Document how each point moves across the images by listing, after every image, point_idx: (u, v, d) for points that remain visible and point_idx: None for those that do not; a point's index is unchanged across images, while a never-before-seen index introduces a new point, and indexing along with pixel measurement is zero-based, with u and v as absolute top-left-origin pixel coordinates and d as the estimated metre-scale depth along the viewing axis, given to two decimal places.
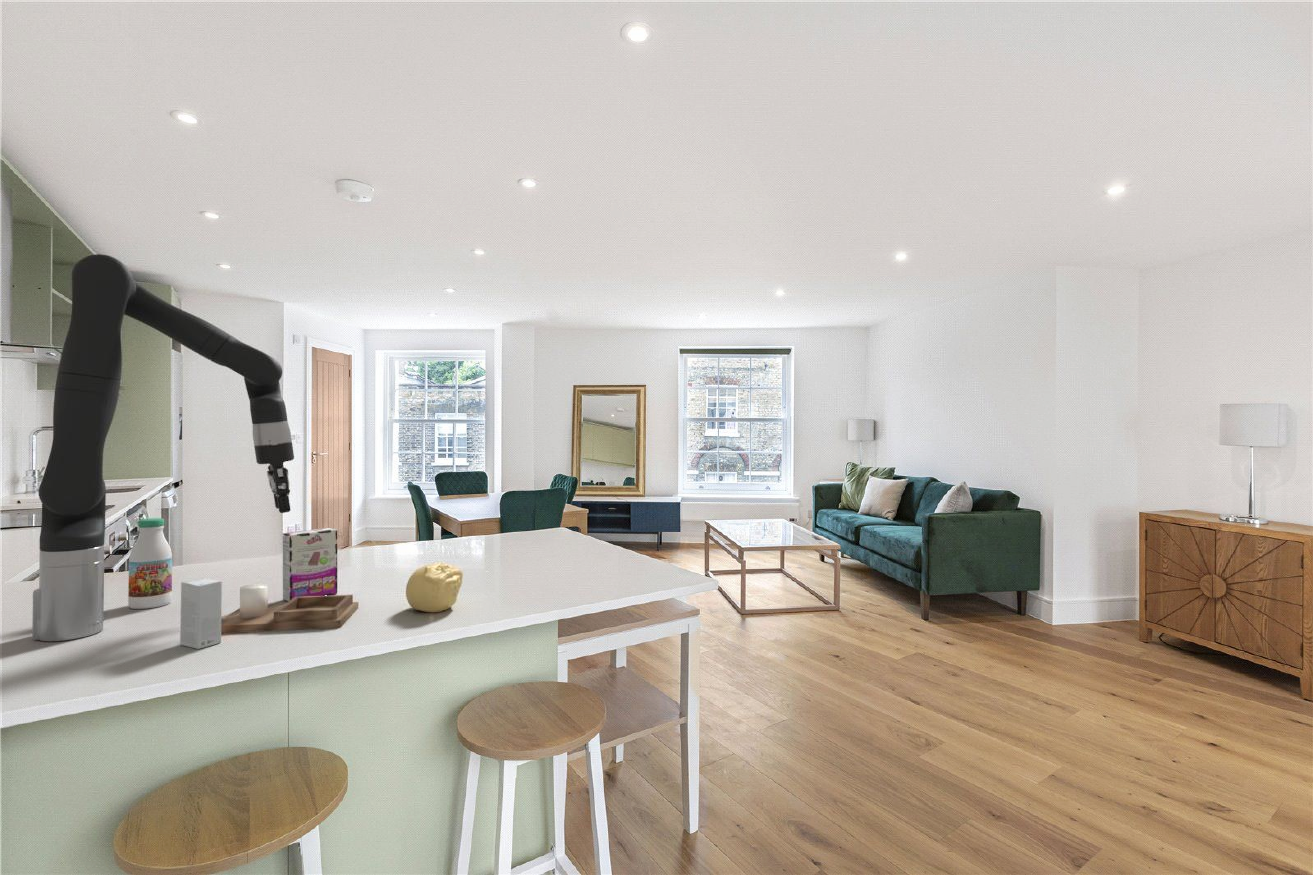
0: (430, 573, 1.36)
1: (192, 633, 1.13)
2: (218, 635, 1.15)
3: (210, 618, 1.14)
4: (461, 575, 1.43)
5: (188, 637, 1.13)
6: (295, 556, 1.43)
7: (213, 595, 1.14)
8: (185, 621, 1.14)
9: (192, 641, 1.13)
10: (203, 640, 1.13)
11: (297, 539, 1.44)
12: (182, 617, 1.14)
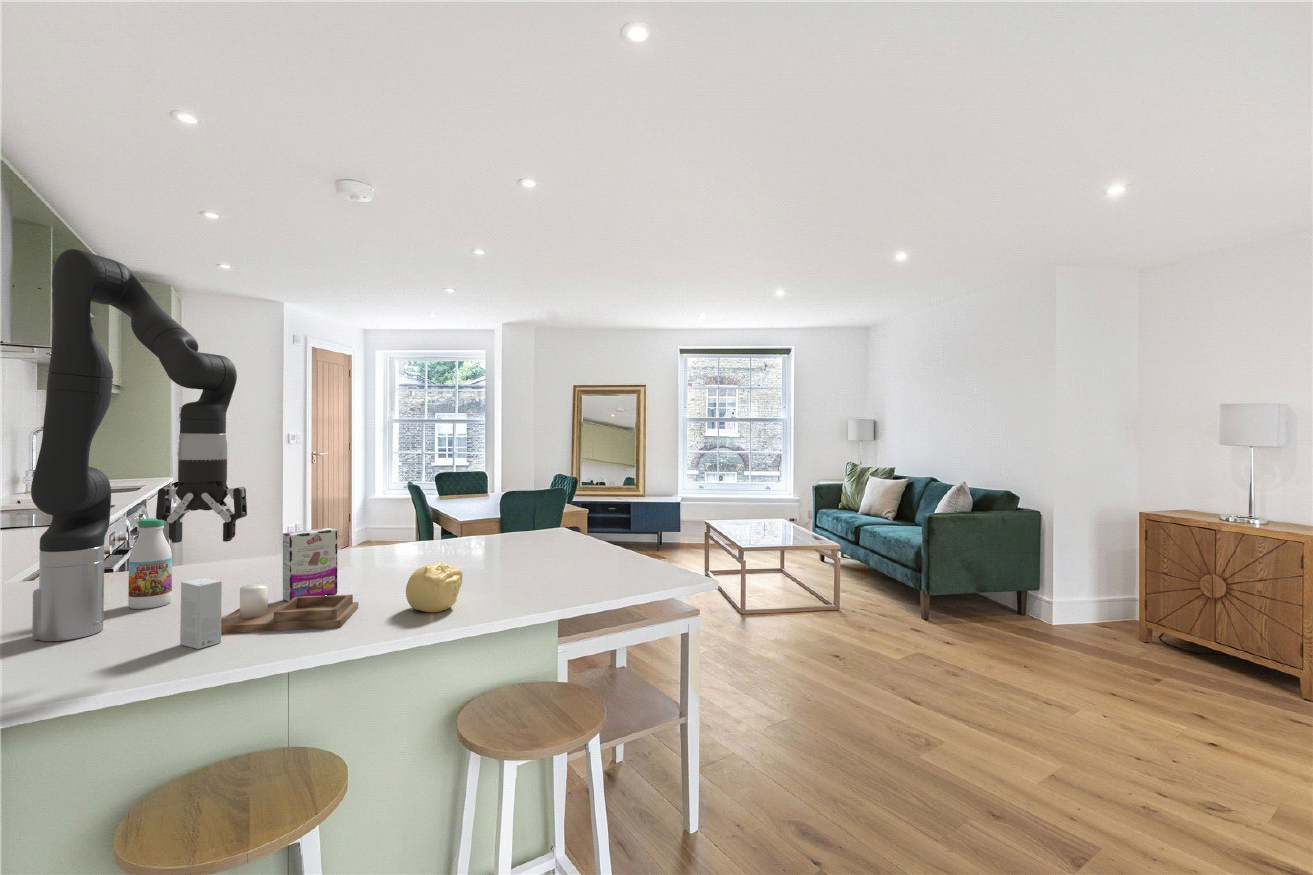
0: (430, 573, 1.36)
1: (192, 633, 1.13)
2: (218, 635, 1.15)
3: (210, 618, 1.14)
4: (461, 575, 1.43)
5: (188, 637, 1.13)
6: (295, 556, 1.43)
7: (213, 595, 1.14)
8: (185, 621, 1.14)
9: (192, 641, 1.13)
10: (203, 640, 1.13)
11: (298, 539, 1.44)
12: (182, 617, 1.14)
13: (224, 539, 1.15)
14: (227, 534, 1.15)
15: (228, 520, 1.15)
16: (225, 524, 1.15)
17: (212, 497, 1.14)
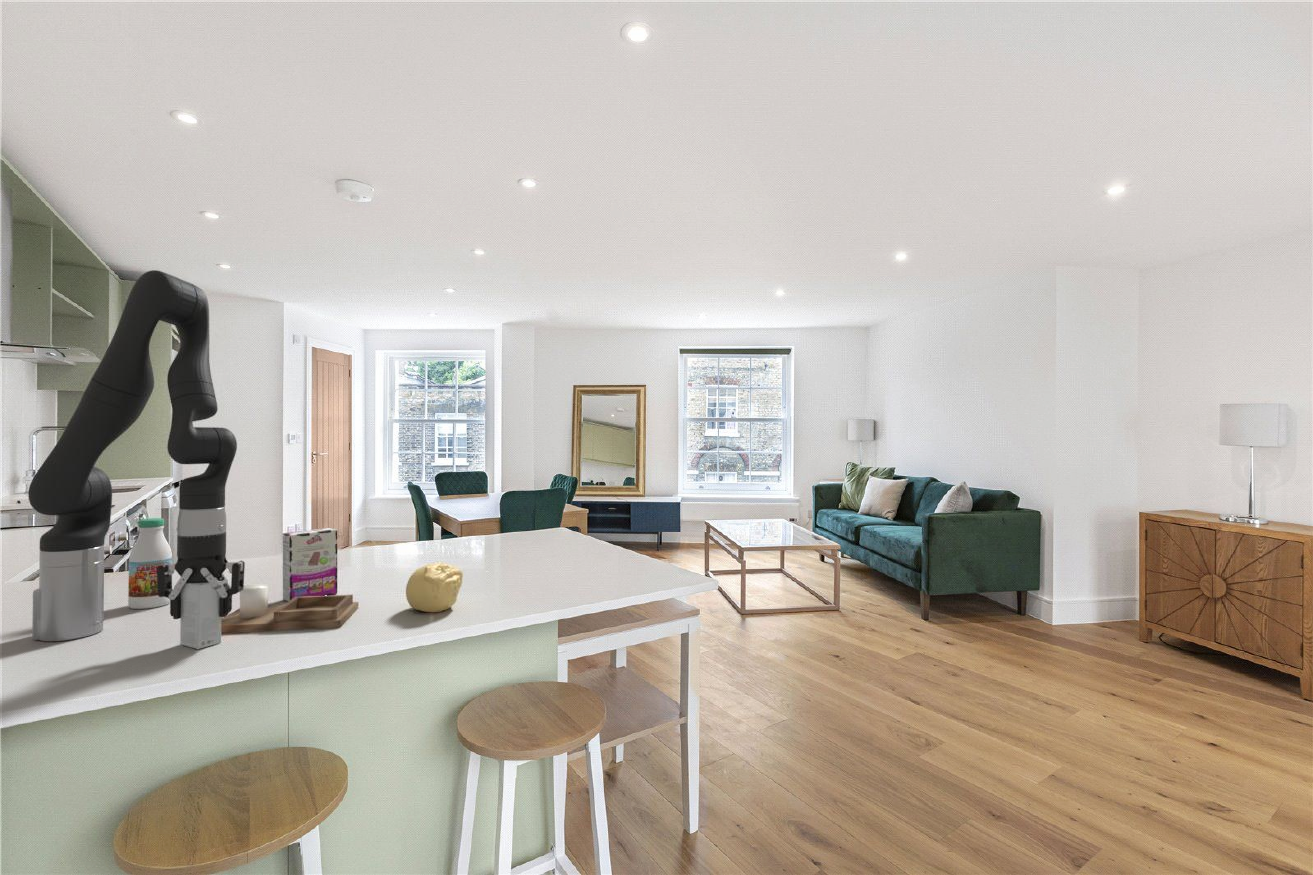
0: (430, 573, 1.36)
1: (192, 633, 1.13)
2: (218, 635, 1.15)
3: (209, 618, 1.14)
4: (461, 575, 1.43)
5: (188, 637, 1.13)
6: (295, 556, 1.43)
7: (213, 595, 1.14)
8: (185, 621, 1.14)
9: (192, 641, 1.13)
10: (203, 640, 1.13)
11: (297, 539, 1.44)
12: (182, 617, 1.14)
13: (220, 615, 1.15)
14: (224, 609, 1.15)
15: (224, 596, 1.15)
16: (221, 600, 1.15)
17: (211, 572, 1.14)
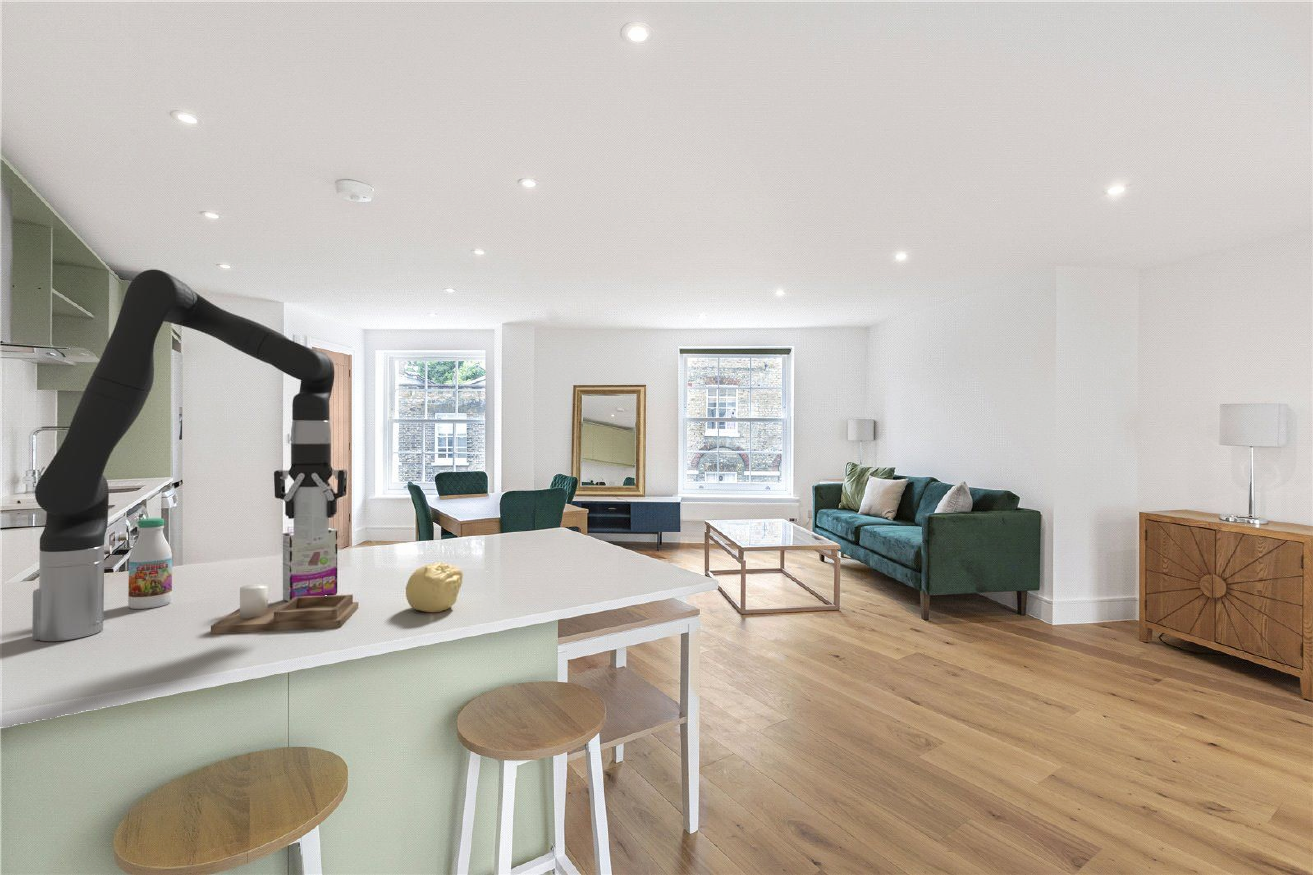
0: (430, 573, 1.36)
1: (306, 530, 1.28)
2: (326, 534, 1.30)
3: (319, 518, 1.29)
4: (461, 575, 1.43)
5: (301, 534, 1.28)
6: (295, 556, 1.43)
7: (322, 498, 1.29)
8: (298, 520, 1.29)
9: (305, 537, 1.28)
10: (315, 536, 1.28)
11: None
12: (295, 517, 1.29)
13: (328, 515, 1.30)
14: (331, 511, 1.30)
15: (331, 498, 1.30)
16: (329, 502, 1.30)
17: (320, 477, 1.29)
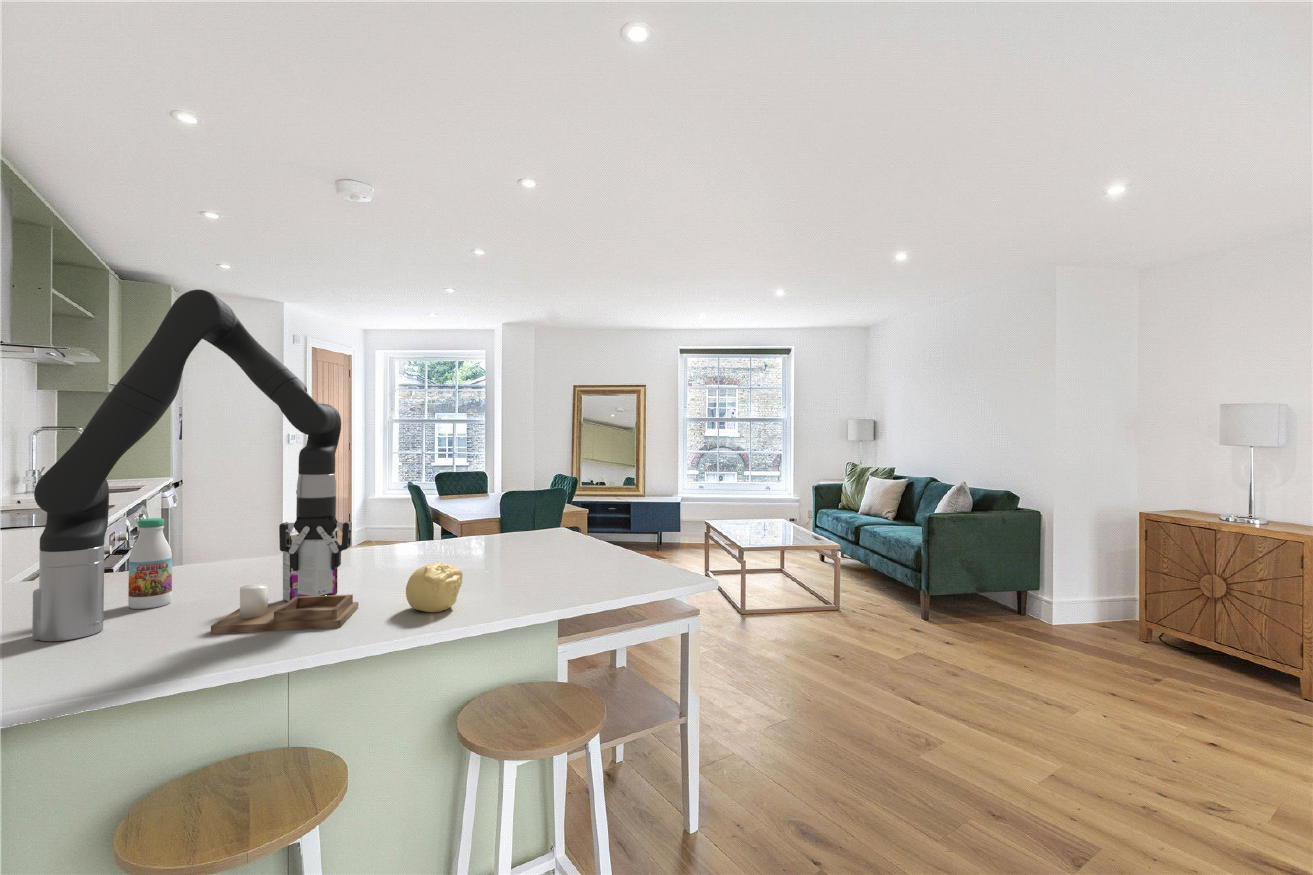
0: (430, 573, 1.36)
1: (310, 583, 1.29)
2: (330, 586, 1.31)
3: (324, 570, 1.30)
4: (461, 575, 1.43)
5: (305, 586, 1.29)
6: None
7: (327, 550, 1.30)
8: (302, 573, 1.30)
9: (310, 589, 1.29)
10: (319, 589, 1.29)
11: None
12: (299, 569, 1.30)
13: (332, 568, 1.31)
14: (335, 563, 1.32)
15: (336, 551, 1.31)
16: (333, 555, 1.31)
17: (325, 530, 1.30)
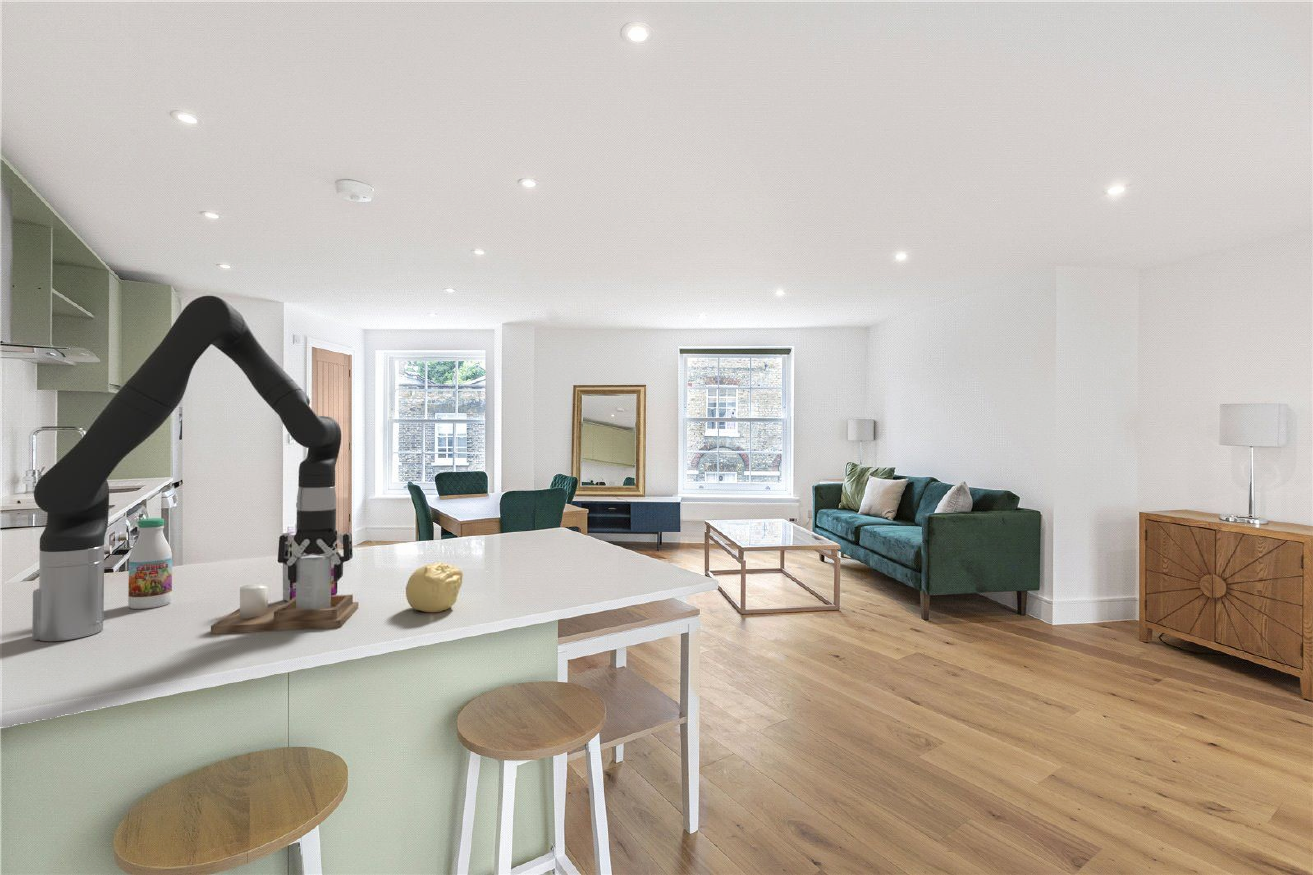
0: (430, 573, 1.36)
1: (308, 602, 1.29)
2: (329, 605, 1.31)
3: (322, 589, 1.30)
4: (461, 575, 1.43)
5: (304, 606, 1.29)
6: None
7: (325, 569, 1.30)
8: (301, 592, 1.30)
9: (308, 609, 1.29)
10: (317, 608, 1.29)
11: None
12: (298, 588, 1.30)
13: (334, 579, 1.31)
14: (337, 574, 1.32)
15: (338, 562, 1.31)
16: (335, 566, 1.31)
17: (325, 542, 1.30)
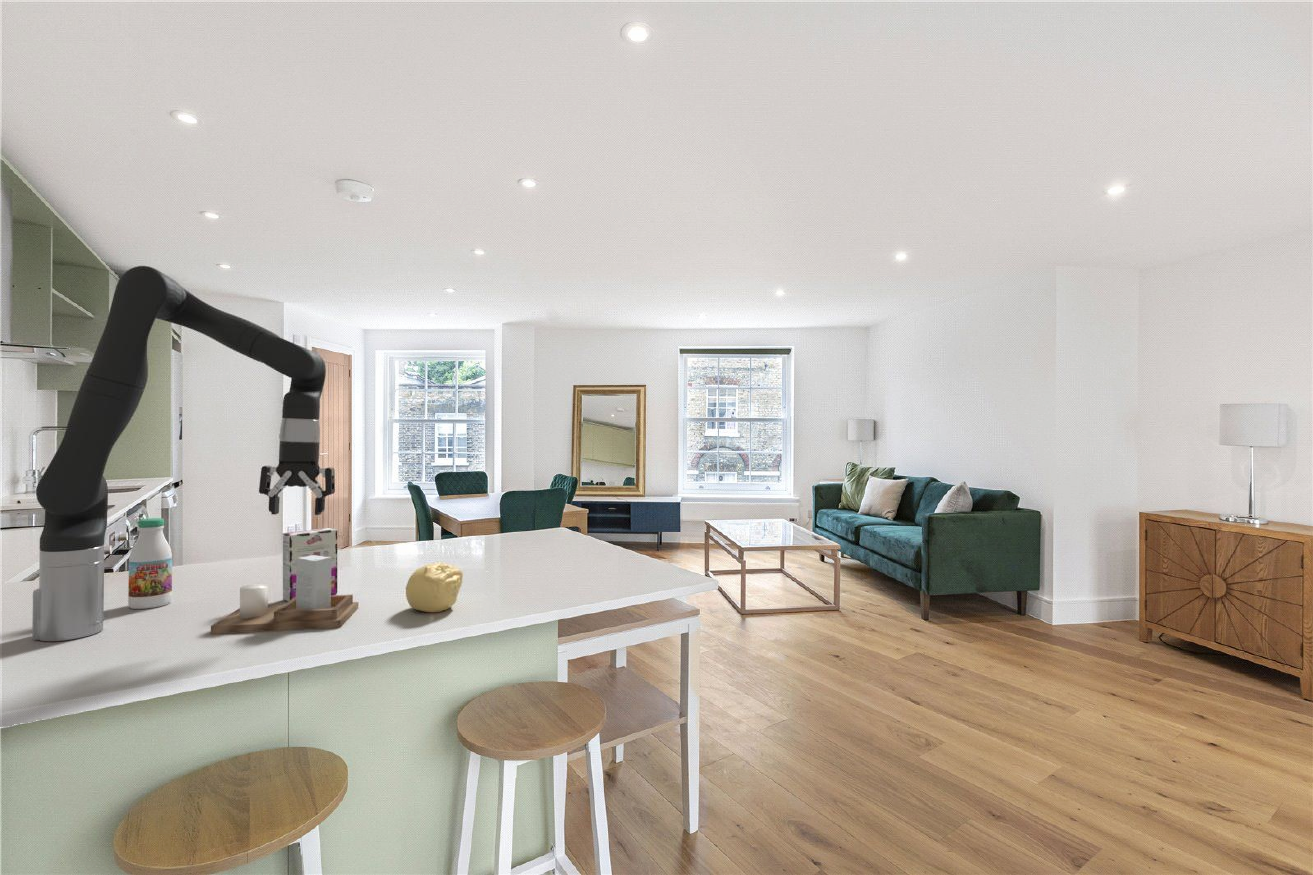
0: (430, 573, 1.36)
1: (308, 602, 1.29)
2: (329, 605, 1.31)
3: (322, 589, 1.30)
4: (461, 575, 1.43)
5: (304, 606, 1.29)
6: (295, 556, 1.43)
7: (325, 569, 1.30)
8: (301, 592, 1.30)
9: (308, 609, 1.29)
10: (317, 608, 1.29)
11: (298, 539, 1.44)
12: (298, 588, 1.30)
13: (316, 512, 1.31)
14: (318, 508, 1.31)
15: (320, 496, 1.31)
16: (317, 499, 1.31)
17: (307, 475, 1.30)
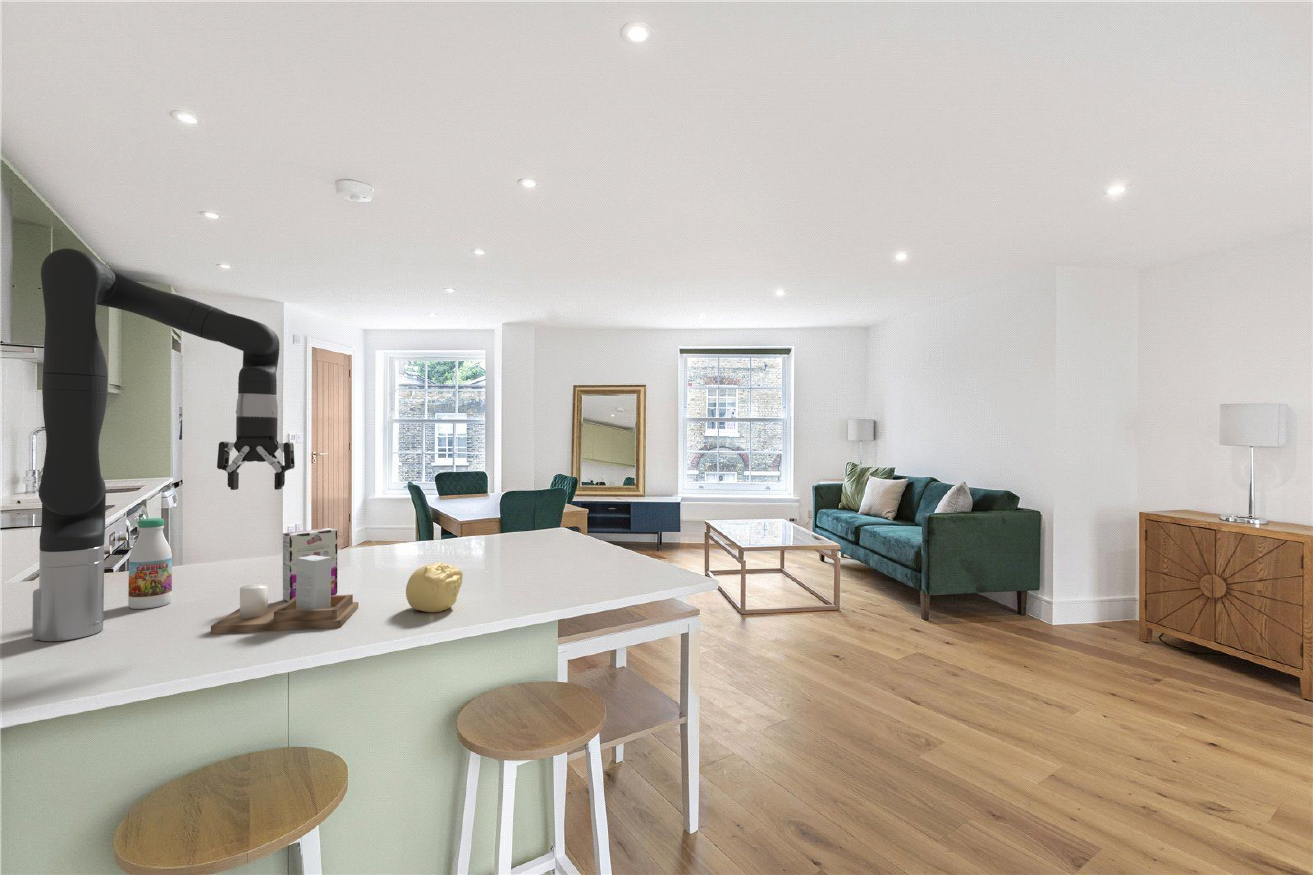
0: (430, 573, 1.36)
1: (308, 602, 1.29)
2: (329, 605, 1.31)
3: (322, 589, 1.30)
4: (461, 575, 1.43)
5: (304, 606, 1.29)
6: (295, 556, 1.43)
7: (325, 569, 1.30)
8: (301, 592, 1.30)
9: (308, 609, 1.29)
10: (317, 608, 1.29)
11: (298, 539, 1.44)
12: (298, 588, 1.30)
13: (275, 487, 1.31)
14: (278, 482, 1.32)
15: (279, 470, 1.31)
16: (276, 474, 1.31)
17: (265, 450, 1.30)
